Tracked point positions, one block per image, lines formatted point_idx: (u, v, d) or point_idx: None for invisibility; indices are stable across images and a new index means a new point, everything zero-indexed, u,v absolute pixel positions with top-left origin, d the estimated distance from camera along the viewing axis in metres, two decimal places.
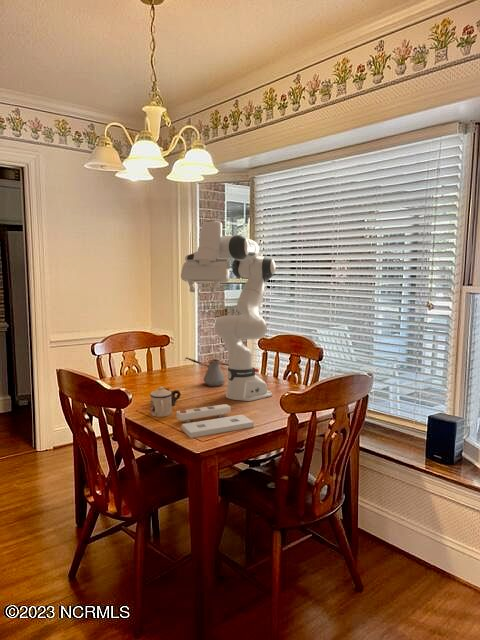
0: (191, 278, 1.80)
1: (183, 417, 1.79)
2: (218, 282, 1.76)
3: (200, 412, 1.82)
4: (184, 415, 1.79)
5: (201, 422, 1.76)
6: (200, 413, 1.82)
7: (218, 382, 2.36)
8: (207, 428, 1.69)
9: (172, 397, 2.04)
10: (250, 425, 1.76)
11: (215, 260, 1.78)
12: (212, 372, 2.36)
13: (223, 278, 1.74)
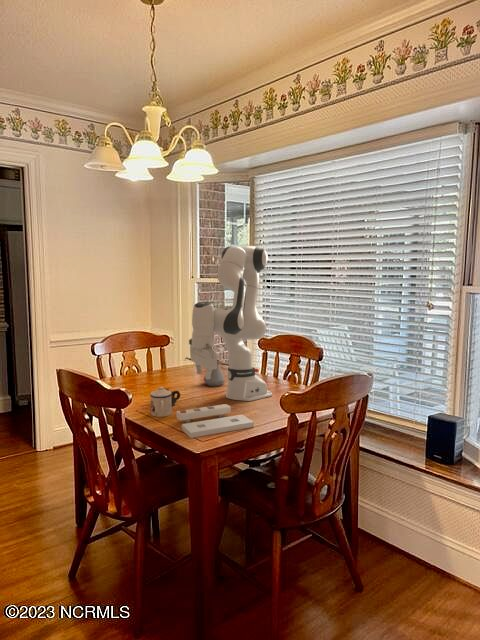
0: (195, 362, 1.87)
1: (183, 417, 1.79)
2: (209, 369, 1.77)
3: (200, 412, 1.82)
4: (184, 415, 1.79)
5: (201, 422, 1.76)
6: (200, 413, 1.82)
7: (218, 382, 2.36)
8: (207, 428, 1.69)
9: (172, 398, 2.03)
10: (250, 425, 1.76)
11: (204, 347, 1.78)
12: (212, 372, 2.36)
13: (208, 368, 1.74)
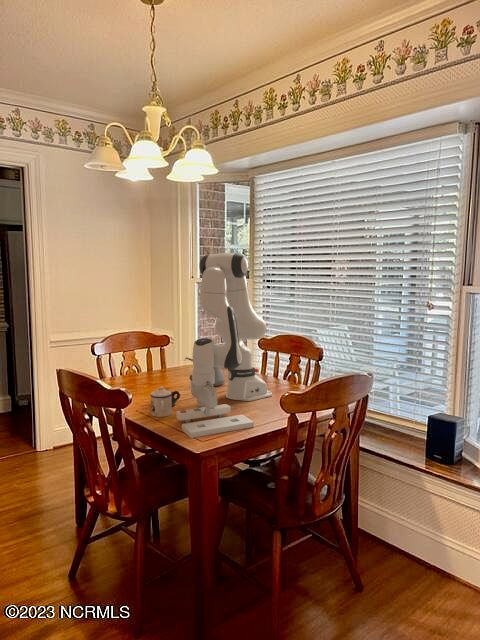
0: (195, 397, 1.88)
1: (183, 417, 1.79)
2: None
3: (200, 412, 1.82)
4: (184, 415, 1.79)
5: (201, 422, 1.76)
6: (200, 413, 1.82)
7: (218, 382, 2.36)
8: (207, 428, 1.69)
9: (172, 398, 2.03)
10: (250, 425, 1.76)
11: (205, 384, 1.80)
12: None
13: (208, 406, 1.76)
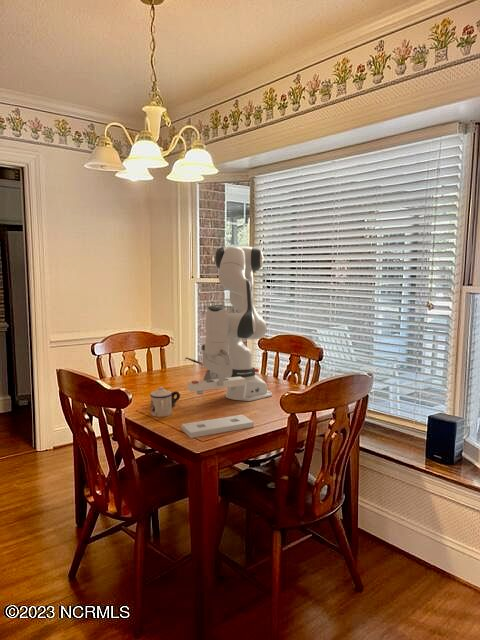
0: (208, 369, 1.77)
1: (195, 388, 1.67)
2: (221, 376, 1.69)
3: (213, 383, 1.70)
4: (196, 386, 1.67)
5: (201, 422, 1.76)
6: (213, 385, 1.70)
7: None
8: (207, 428, 1.69)
9: (172, 399, 2.02)
10: (250, 425, 1.76)
11: (219, 353, 1.68)
12: None
13: (223, 376, 1.64)
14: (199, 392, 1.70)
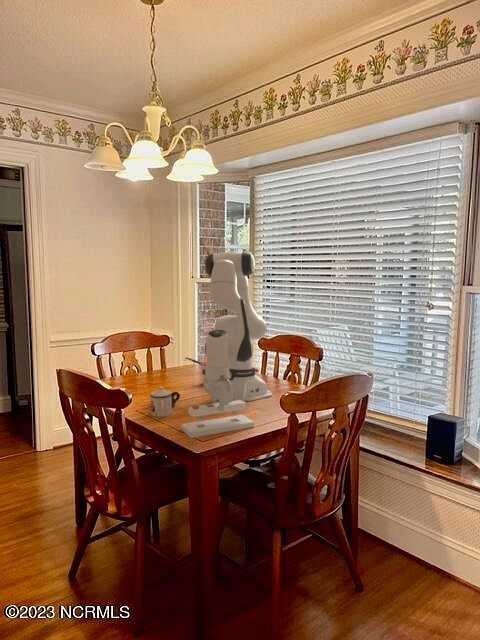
0: None
1: (196, 413, 1.68)
2: (222, 401, 1.70)
3: (214, 408, 1.71)
4: (197, 411, 1.68)
5: (201, 422, 1.76)
6: (214, 410, 1.71)
7: None
8: (207, 428, 1.69)
9: (171, 399, 2.02)
10: (250, 425, 1.76)
11: (219, 378, 1.69)
12: None
13: (223, 402, 1.65)
14: (200, 417, 1.71)
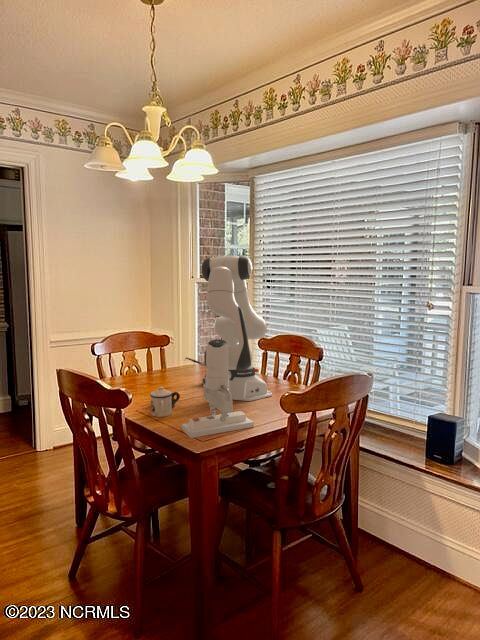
0: None
1: (196, 426, 1.69)
2: (224, 412, 1.69)
3: (214, 420, 1.72)
4: (197, 423, 1.69)
5: None
6: (214, 422, 1.72)
7: None
8: (207, 428, 1.69)
9: (171, 399, 2.01)
10: (250, 425, 1.76)
11: (219, 388, 1.69)
12: None
13: (223, 412, 1.66)
14: None
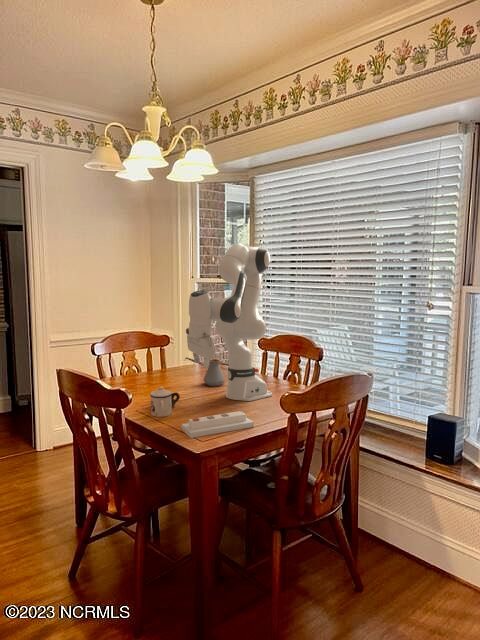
0: (192, 351, 1.86)
1: (196, 426, 1.69)
2: (207, 359, 1.77)
3: (214, 420, 1.72)
4: (197, 423, 1.69)
5: None
6: (214, 422, 1.72)
7: (218, 382, 2.36)
8: (207, 428, 1.69)
9: (171, 400, 2.00)
10: (250, 425, 1.76)
11: (202, 336, 1.78)
12: (212, 372, 2.36)
13: (206, 357, 1.74)
14: None
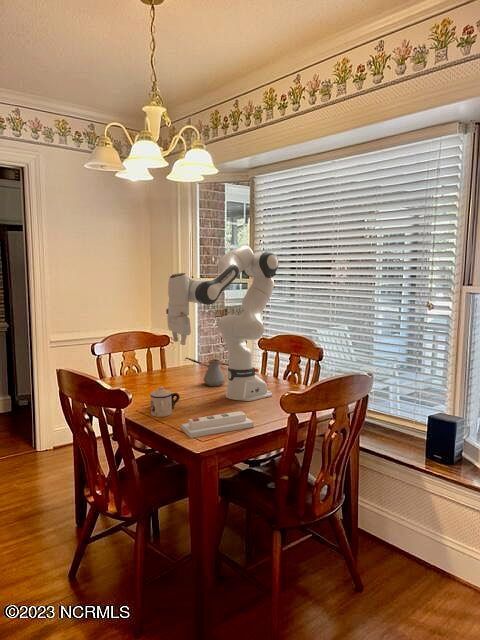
0: (171, 330, 2.00)
1: (196, 426, 1.69)
2: (183, 336, 1.90)
3: (214, 420, 1.72)
4: (197, 423, 1.69)
5: None
6: (214, 422, 1.72)
7: (218, 382, 2.36)
8: (207, 428, 1.69)
9: (171, 400, 2.00)
10: (250, 425, 1.76)
11: (179, 314, 1.91)
12: (212, 372, 2.36)
13: (182, 334, 1.87)
14: None
